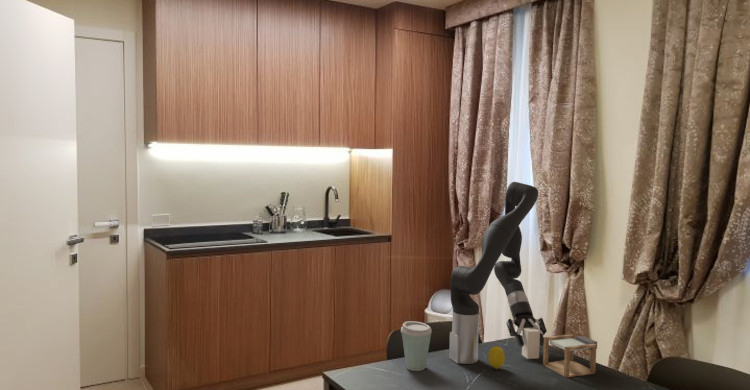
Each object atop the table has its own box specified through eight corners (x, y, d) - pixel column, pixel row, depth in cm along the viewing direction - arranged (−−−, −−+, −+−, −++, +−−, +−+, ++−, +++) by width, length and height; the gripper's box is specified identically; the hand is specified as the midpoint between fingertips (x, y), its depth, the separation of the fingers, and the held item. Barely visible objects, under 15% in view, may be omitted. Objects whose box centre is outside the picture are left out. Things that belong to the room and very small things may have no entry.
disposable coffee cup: (433, 364, 186) (434, 321, 185) (429, 375, 175) (430, 330, 175) (402, 361, 188) (403, 318, 187) (397, 372, 178) (398, 327, 177)
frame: (566, 377, 176) (567, 348, 175) (542, 364, 187) (543, 337, 187) (595, 373, 180) (596, 344, 179) (570, 361, 191) (571, 334, 191)
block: (527, 358, 193) (528, 331, 192) (521, 354, 197) (522, 327, 197) (538, 358, 193) (539, 331, 193) (533, 354, 198) (534, 327, 197)
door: (567, 353, 177) (568, 346, 177) (549, 345, 186) (549, 338, 186) (599, 349, 182) (599, 342, 182) (580, 341, 190) (580, 334, 190)
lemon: (504, 372, 179) (505, 349, 179) (487, 371, 180) (488, 347, 180) (504, 366, 184) (504, 344, 184) (487, 365, 185) (488, 342, 185)
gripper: (504, 301, 201) (517, 341, 190) (540, 300, 203) (554, 340, 192) (498, 311, 206) (510, 351, 195) (533, 310, 208) (547, 349, 198)
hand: (532, 345), depth 194 cm, fingers open, 7 cm apart
